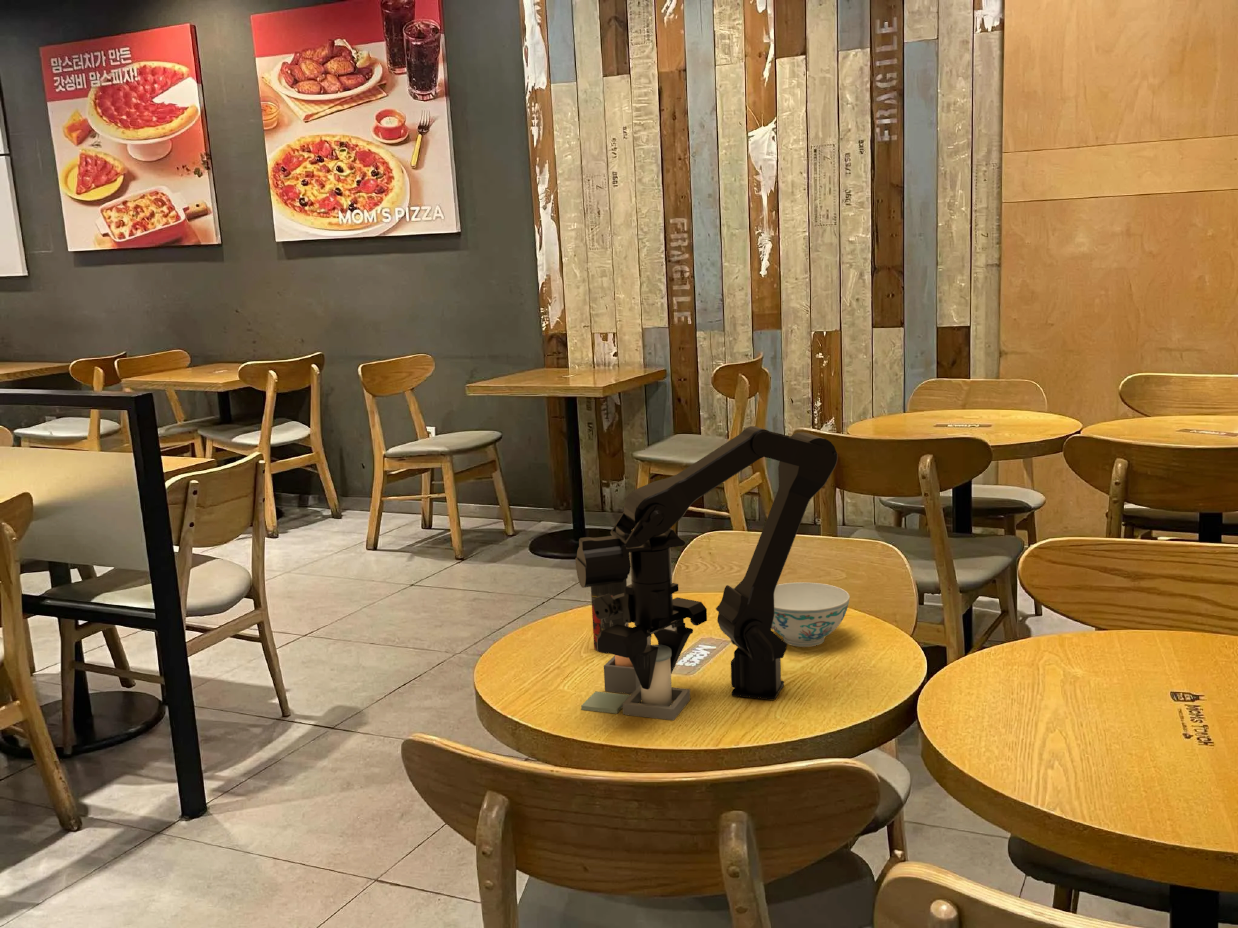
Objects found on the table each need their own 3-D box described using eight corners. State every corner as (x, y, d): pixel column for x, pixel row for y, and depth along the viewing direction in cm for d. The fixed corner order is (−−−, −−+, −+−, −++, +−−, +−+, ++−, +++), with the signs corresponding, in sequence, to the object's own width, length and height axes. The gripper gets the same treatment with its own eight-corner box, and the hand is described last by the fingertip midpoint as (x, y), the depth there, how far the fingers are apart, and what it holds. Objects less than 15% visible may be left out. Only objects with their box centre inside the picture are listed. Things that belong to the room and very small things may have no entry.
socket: (690, 699, 160) (689, 688, 160) (673, 720, 153) (673, 709, 153) (641, 694, 163) (640, 683, 163) (623, 714, 156) (622, 703, 156)
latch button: (638, 674, 167) (637, 649, 166) (631, 681, 164) (630, 656, 163) (620, 672, 168) (619, 647, 167) (613, 679, 165) (611, 654, 164)
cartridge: (675, 696, 160) (673, 644, 159) (671, 710, 155) (669, 656, 154) (642, 696, 161) (640, 644, 159) (637, 709, 156) (635, 656, 155)
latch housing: (647, 681, 168) (646, 657, 167) (636, 694, 163) (635, 668, 162) (617, 678, 169) (615, 654, 169) (604, 691, 165) (603, 665, 164)
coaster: (630, 698, 162) (630, 694, 161) (616, 713, 157) (616, 709, 156) (595, 695, 164) (595, 691, 163) (581, 709, 158) (581, 705, 158)
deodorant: (629, 652, 180) (625, 564, 178) (593, 654, 181) (588, 565, 178) (629, 640, 186) (625, 554, 184) (594, 641, 186) (590, 556, 184)
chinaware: (756, 655, 177) (755, 609, 175) (760, 624, 191) (759, 581, 190) (851, 656, 174) (851, 610, 173) (848, 625, 189) (847, 582, 187)
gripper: (646, 555, 167) (651, 653, 170) (564, 586, 153) (570, 692, 156) (707, 565, 160) (710, 667, 163) (627, 599, 146) (632, 710, 149)
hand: (656, 683), depth 158 cm, fingers closed on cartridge, 4 cm apart
